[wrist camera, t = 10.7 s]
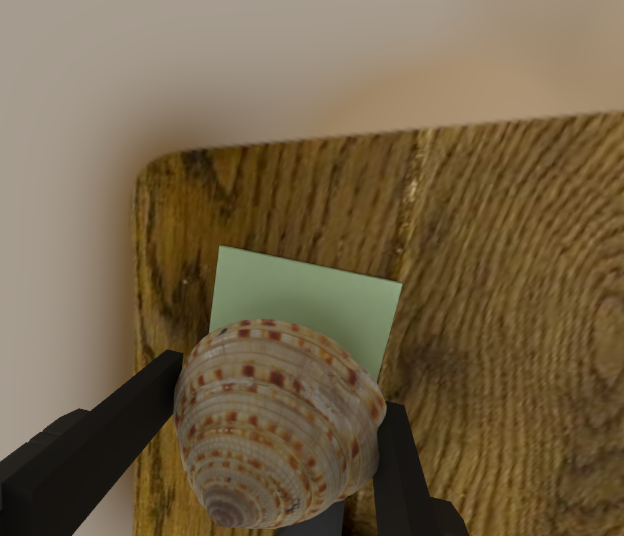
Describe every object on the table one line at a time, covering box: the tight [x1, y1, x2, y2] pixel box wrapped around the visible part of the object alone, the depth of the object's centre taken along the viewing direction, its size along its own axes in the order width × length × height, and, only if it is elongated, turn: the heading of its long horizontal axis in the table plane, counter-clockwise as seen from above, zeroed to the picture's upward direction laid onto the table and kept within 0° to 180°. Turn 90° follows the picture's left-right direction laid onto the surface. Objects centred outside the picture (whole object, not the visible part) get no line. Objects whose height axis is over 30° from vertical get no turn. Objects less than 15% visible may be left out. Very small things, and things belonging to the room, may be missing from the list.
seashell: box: [173, 319, 387, 529], centre depth 12 cm, size 8×6×8 cm
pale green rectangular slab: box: [209, 245, 403, 383], centre depth 16 cm, size 11×9×1 cm
